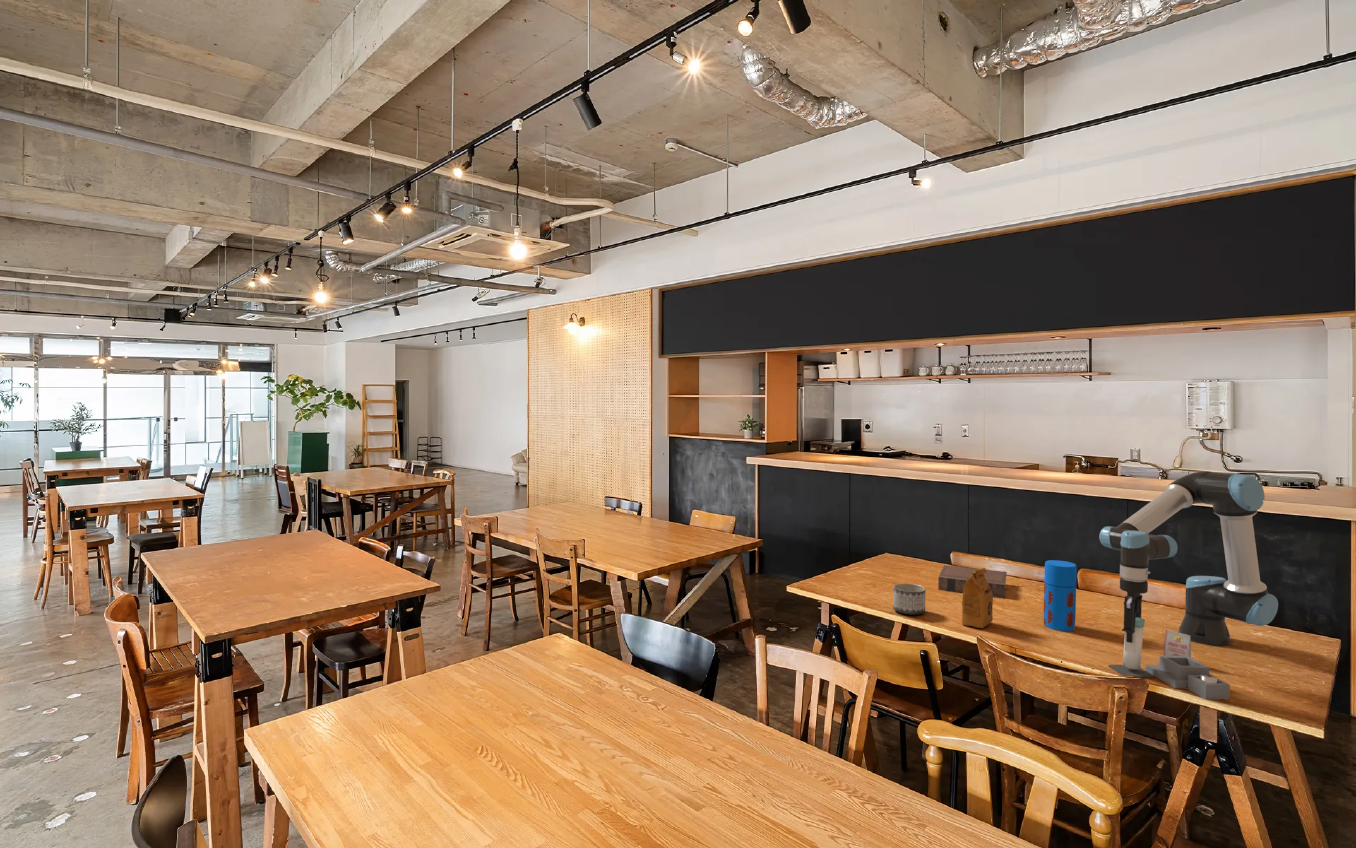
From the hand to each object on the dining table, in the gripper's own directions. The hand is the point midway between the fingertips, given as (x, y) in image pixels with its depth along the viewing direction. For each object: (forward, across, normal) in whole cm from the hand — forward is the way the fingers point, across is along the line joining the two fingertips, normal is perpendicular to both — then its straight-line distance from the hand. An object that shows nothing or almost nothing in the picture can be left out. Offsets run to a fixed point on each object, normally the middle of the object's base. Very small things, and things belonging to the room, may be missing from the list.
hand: (1131, 649), depth 216 cm
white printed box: (+8, +22, -9) cm, 25 cm away
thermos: (+8, +31, +30) cm, 44 cm away
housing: (+8, +2, -16) cm, 18 cm away
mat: (+8, 0, 0) cm, 8 cm away
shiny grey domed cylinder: (+7, -2, -20) cm, 22 cm away
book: (+8, +61, +76) cm, 98 cm away
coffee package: (+8, +10, +53) cm, 55 cm away
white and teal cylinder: (+6, 0, 0) cm, 6 cm away
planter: (+8, +5, +80) cm, 80 cm away
